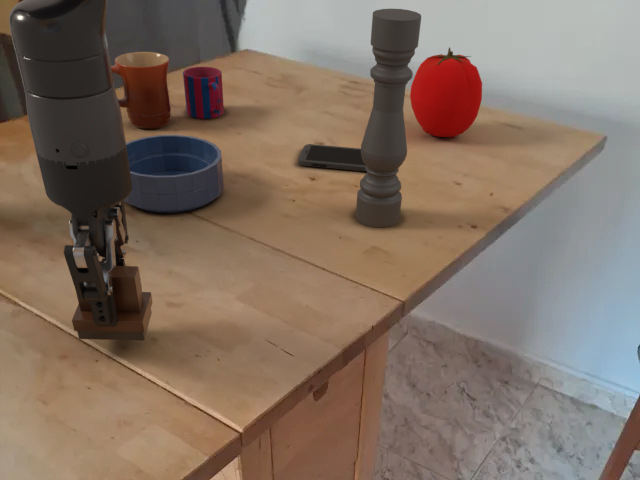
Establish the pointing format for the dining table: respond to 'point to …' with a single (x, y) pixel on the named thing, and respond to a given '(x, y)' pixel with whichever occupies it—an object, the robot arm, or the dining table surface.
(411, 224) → the dining table surface
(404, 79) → the candle holder
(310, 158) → the cell phone
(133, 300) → the brown wooden stepped block
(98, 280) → the robot arm
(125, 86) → the mug
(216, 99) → the cup
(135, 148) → the bowl
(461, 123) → the tomato
